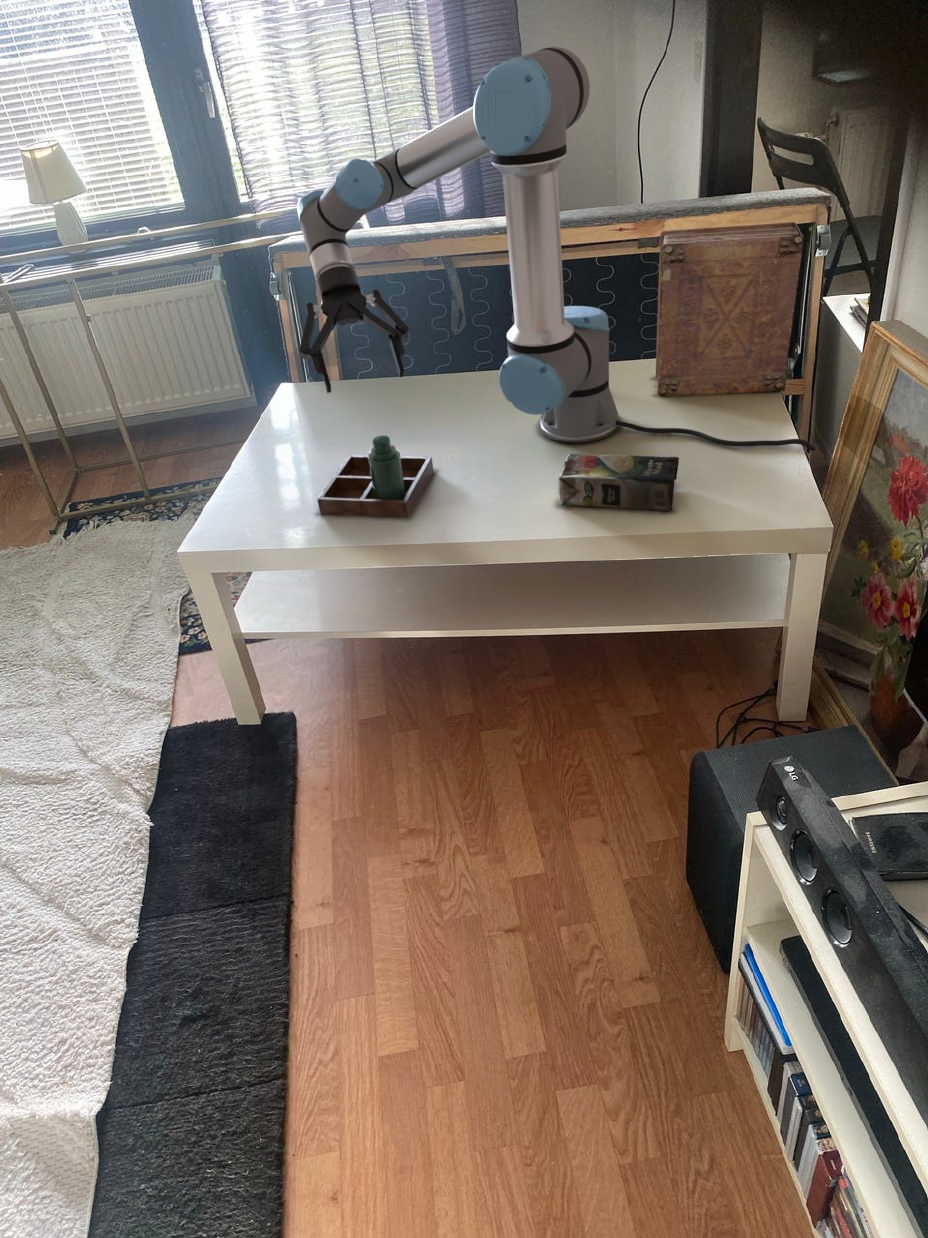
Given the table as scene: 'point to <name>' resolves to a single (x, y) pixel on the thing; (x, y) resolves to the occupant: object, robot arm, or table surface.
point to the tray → (356, 491)
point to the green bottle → (386, 470)
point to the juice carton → (618, 481)
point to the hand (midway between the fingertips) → (365, 381)
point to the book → (726, 308)
